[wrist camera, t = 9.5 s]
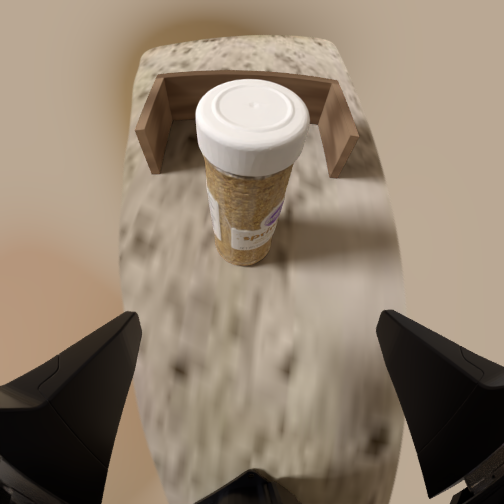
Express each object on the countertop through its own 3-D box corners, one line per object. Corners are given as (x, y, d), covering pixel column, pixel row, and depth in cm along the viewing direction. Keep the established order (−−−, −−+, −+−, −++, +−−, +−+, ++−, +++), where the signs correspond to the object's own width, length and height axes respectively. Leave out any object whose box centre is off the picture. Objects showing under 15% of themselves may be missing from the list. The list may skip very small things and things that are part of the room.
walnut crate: (337, 178, 25) (359, 136, 19) (151, 174, 24) (134, 130, 18) (323, 120, 28) (337, 80, 22) (167, 116, 27) (157, 74, 21)
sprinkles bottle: (259, 276, 21) (293, 163, 8) (205, 254, 21) (171, 125, 9) (279, 226, 23) (322, 93, 10) (228, 207, 23) (225, 67, 10)
